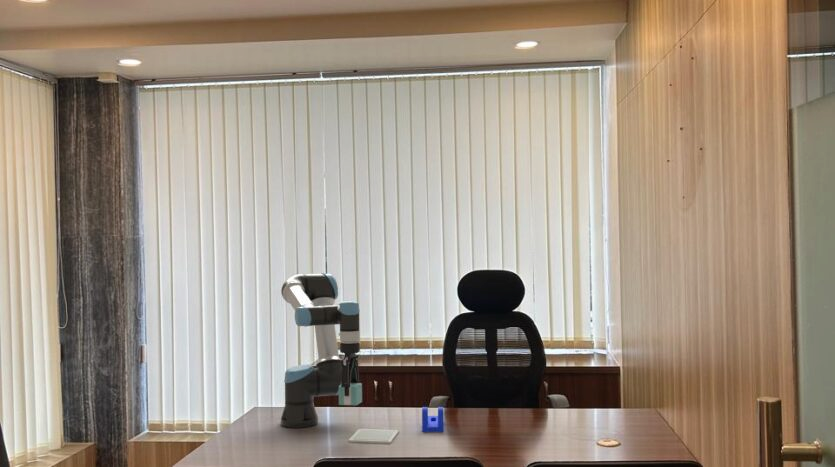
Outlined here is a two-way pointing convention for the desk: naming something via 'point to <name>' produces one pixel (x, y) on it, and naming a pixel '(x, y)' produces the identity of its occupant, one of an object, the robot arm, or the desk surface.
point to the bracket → (432, 421)
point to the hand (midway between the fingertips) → (350, 402)
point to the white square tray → (374, 436)
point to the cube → (352, 394)
